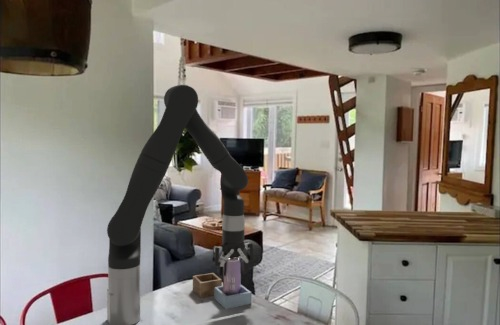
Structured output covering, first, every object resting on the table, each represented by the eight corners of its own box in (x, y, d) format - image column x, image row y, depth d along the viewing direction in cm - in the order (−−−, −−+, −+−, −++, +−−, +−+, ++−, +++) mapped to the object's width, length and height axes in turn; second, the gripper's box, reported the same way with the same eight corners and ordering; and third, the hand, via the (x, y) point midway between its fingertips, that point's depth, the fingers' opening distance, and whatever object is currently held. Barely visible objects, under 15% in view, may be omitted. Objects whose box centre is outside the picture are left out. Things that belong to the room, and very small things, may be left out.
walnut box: (200, 300, 131) (200, 283, 130) (192, 292, 138) (192, 275, 137) (221, 296, 134) (221, 279, 134) (213, 288, 141) (213, 272, 141)
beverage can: (241, 298, 131) (241, 255, 130) (239, 305, 125) (239, 261, 124) (224, 297, 132) (224, 255, 131) (221, 304, 126) (221, 260, 125)
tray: (225, 311, 122) (225, 297, 122) (214, 300, 131) (214, 287, 130) (251, 305, 127) (251, 292, 126) (238, 295, 135) (239, 283, 135)
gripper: (218, 232, 121) (217, 281, 122) (257, 228, 127) (256, 275, 128) (209, 227, 127) (209, 274, 128) (246, 223, 134) (246, 268, 135)
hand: (232, 274), depth 128 cm, fingers open, 8 cm apart
